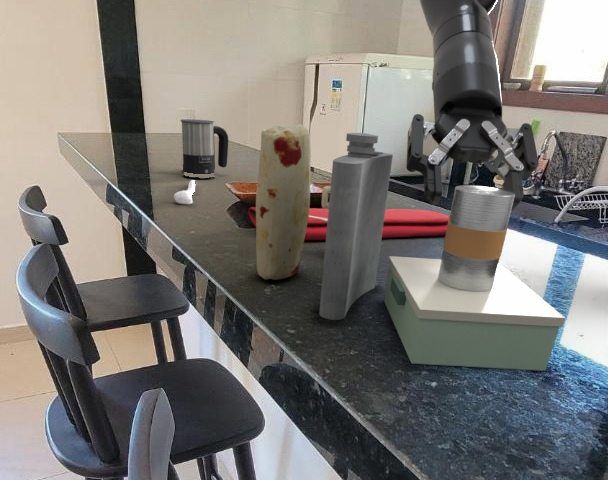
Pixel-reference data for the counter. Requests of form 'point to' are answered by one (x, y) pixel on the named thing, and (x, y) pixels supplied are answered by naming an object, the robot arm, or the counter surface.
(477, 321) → the box
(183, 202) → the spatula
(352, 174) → the hip flask
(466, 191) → the tin can
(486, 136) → the robot arm
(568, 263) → the counter surface
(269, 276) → the food model
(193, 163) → the milk frother
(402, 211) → the dish drying mat
